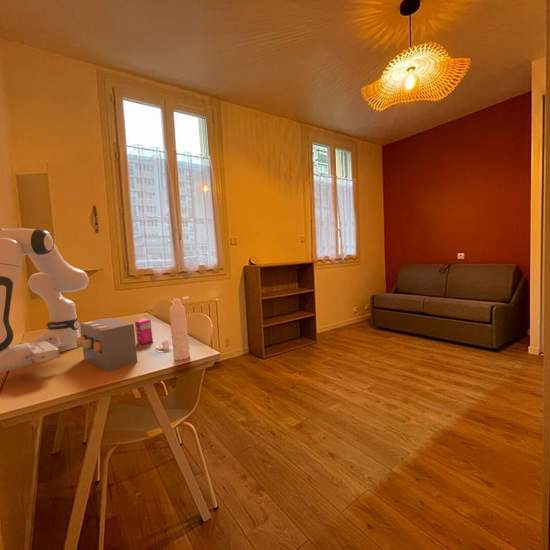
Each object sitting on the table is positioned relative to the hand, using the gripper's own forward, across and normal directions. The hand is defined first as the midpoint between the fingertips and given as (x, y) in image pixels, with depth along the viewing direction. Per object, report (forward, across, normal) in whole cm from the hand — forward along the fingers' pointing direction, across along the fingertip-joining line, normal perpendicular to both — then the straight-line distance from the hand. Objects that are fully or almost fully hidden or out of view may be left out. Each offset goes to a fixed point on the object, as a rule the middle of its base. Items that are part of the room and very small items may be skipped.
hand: (66, 345), depth 126 cm
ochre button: (+5, +1, +2) cm, 6 cm away
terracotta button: (+7, -15, +2) cm, 17 cm away
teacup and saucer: (+37, -12, +10) cm, 40 cm away
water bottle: (+33, -32, +9) cm, 47 cm away
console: (+13, -8, +9) cm, 17 cm away
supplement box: (+34, +5, +9) cm, 36 cm away
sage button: (+5, -7, +2) cm, 9 cm away
